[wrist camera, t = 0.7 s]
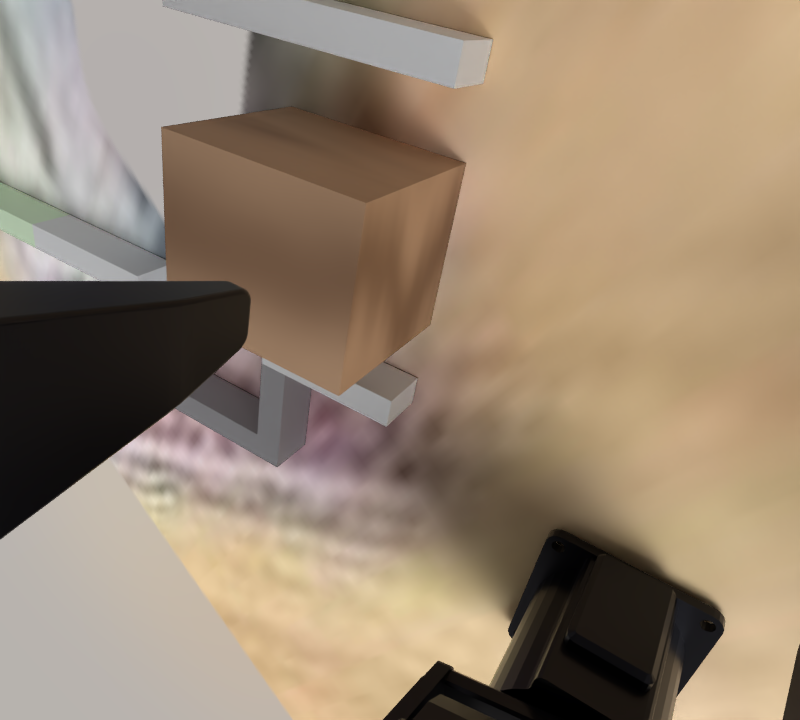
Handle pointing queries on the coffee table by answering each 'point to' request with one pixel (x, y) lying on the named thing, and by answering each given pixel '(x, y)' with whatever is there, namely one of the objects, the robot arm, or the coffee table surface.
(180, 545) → the coffee table surface
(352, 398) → the lane
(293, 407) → the trap pockets
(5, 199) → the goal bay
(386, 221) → the walnut block
